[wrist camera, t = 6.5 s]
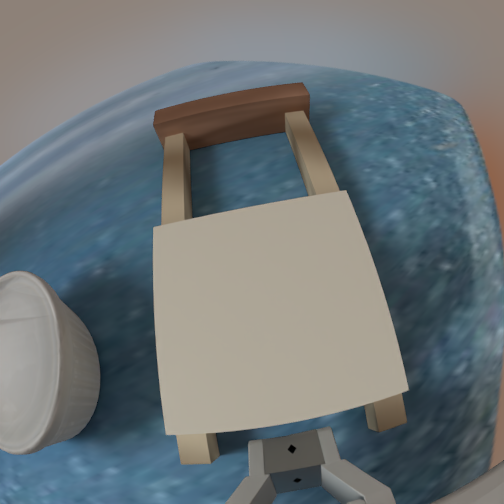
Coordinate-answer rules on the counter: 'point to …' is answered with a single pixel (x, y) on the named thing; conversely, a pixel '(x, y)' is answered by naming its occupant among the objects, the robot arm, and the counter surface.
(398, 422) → the keeper track
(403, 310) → the counter surface
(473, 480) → the robot arm
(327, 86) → the counter surface
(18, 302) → the ramekin
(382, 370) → the block
